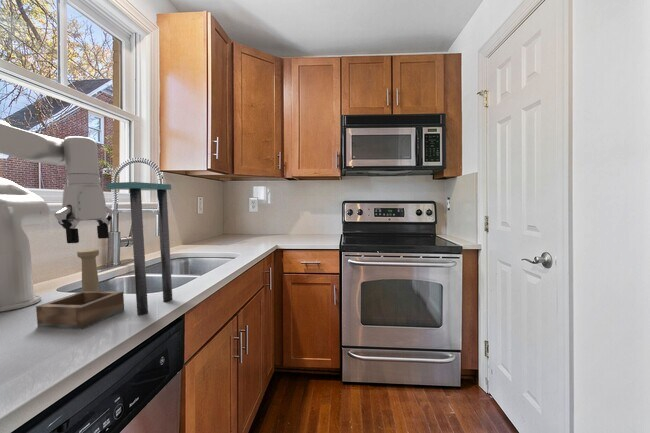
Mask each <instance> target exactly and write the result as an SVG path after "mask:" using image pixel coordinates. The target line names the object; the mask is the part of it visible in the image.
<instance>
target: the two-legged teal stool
mask: <svg viewBox="0 0 650 433" xmlns="http://www.w3.org/2000/svg"><path fill="white" fill-rule="evenodd" d="M106 189H107V190H118V191H119V190H124V191H129V200H130V203H129V204H130V217H131V218H130V219H131V236H132V249H133V251H132V252H133V253H132V254H133V267H134V283H135V298H136V299H135V301H136V302H135V303H136V315H137V316H146V315H147V314H149V305H148V290H147V289H148V287H147V272H146V271H147V270H146V269H147V268H146V257H145V256H146V255H145V254H146V253H145V238H144V237H145V236H144V221H143V205H142V202H143V201H142V191H156V197H157V198H156V199H157V213H158V231H159V247H160V248H159V250H160V252H159V253H160V264H161V266H160V267H161V269H160V270H161V284H162V285H161V287H162V302H163V303H169V302H172V301H173V286H172V285H173V284H172V282H173V281H172V280H173V279H172V264H171V245H170V228H169V208H168V191H169V190H170V191H171V190H172V184H167V183H155V182H153V183H152V182H143V181H141V182H140V181H139V182H138V181H126V182H123V181H122V182H107V183H106Z"/></svg>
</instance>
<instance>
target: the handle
mask: <svg viewBox="0 0 650 433" xmlns="http://www.w3.org/2000/svg"><path fill="white" fill-rule="evenodd" d="M76 253H77V258H79V259H80V260H81V287H82V291H100V290H99V289H100V287H99V286H100V283H99V282H100V280H99V274H98V267H97V258H96V257H98V256H99V254H100V250H99V248H88V249H81V250H78V251H77V252H76Z"/></svg>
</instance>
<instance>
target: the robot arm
mask: <svg viewBox="0 0 650 433" xmlns="http://www.w3.org/2000/svg"><path fill="white" fill-rule="evenodd" d="M98 151H99V150H98V143H97V142H96V140H94V139H93V138H91V137H85V136H66V137H65V138H64V139H61V138H58V137H53V136H49V135H44V134H40V133H36V132H33V131H28V130H24V129H21V128H19V127H15V126H11V125H10V124H9V123H8V122H6V121H4V120H1V119H0V154H3V155H6V156H9V157H13V158H16V159H20V160H24V161H28V162H32V163H41V164H46V165H47V164H48V165H52V166H54V165H55V166H65V175H66V176H65V178H66V184H67V185H64V187H63V192H62V202H61V203H62V204H61V206H62V209H60V210H58V211H57V212H55V213H54V217H55V218H56V220H57V222H58V224H59V225H60V226H61V227H62V228H63V229H64V230H65V238H66V243H67V244H79V242H80V236H79V229H78V228H76V227H77V225H79V223H80V222H84V221H85V222H86V221H87V222H88V221H95V222H96V224H98V225H97V226H96V232H97V233H96V234H97V238H98V239H109V238H110V236H109V225H111V224H110V221H111V220H112V218H113V215H114V214H113V213H114V210H113V209H111V208H110V207H108V206H107V204H106V198H105V194H104V190H103V187H102V186H101V182H102V179H101V178H100V177H101V176H100V166H99V152H98ZM50 213H51V210H50V206H49V204H48V203H47V202H46V201H45V200H44V199H43V198H42V197H40V196H39V195H37V194H36V193H34V192H31V191H30V190H27V189H26V188H25V187H23V186H21V185H19V184H17V183H15V182H13V181H12V180H9V179H7V178H4V177H0V312H8V311H12V310H17V309H21V308H26V307H28V306H31V305H34V304H36V303H39V302H41V300H42V296H41V295H39V294H35V291H34V284H33V283H34V282H33V281H34V280H33V270H32V257H31V256H32V255H31V246H30V244H31V243H30V240H29V237H28V235H27V233H26V232H25V230H24V229H23V228H24V227H33V226H34V227H35V226H37V225H38V226H39V225H40V224H44V222H46V221H47V220H48V219H49V217H50V215H51V214H50Z"/></svg>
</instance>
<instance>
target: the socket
mask: <svg viewBox="0 0 650 433" xmlns="http://www.w3.org/2000/svg"><path fill="white" fill-rule="evenodd" d="M35 308H36V310H35V311H36V323H37V324H36V325H37V328H45V329H67V330H69V329H70V330H71V329H73V330H85V329H86V328H88V327H90V326H93V325H95V324H97V323H99V322H102V321H104V320H105V319H106V320H107V319H108V318H111V317H112V316H115V315H116V314H119V313H121V312H124V311H125V298H124V291H114V290H113V291H108V290H106V291H103V290H99V291H83V290H82V291H79V292H75V293H73V294H69V295H65V296H63V297H61V298H57V299H53V300H52V301H48V302H45V303H42V304H39V305H36V306H35Z"/></svg>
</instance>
